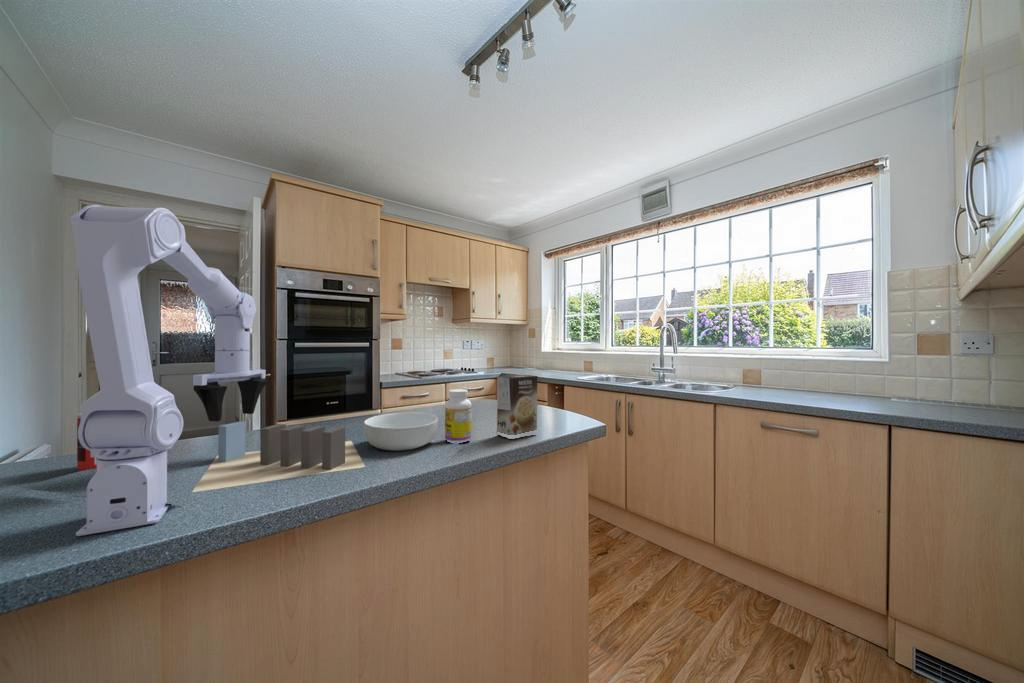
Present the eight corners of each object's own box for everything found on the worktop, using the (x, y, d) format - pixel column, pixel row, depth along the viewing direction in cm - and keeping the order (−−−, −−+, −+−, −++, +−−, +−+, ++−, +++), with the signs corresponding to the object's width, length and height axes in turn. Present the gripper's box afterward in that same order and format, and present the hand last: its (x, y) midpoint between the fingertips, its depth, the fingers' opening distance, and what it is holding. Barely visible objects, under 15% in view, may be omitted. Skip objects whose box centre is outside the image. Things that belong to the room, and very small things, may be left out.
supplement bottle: (443, 438, 99) (443, 389, 99) (468, 437, 101) (468, 388, 101) (446, 445, 92) (447, 392, 92) (473, 443, 94) (474, 391, 94)
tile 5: (345, 462, 76) (345, 427, 76) (330, 470, 72) (330, 432, 72) (337, 462, 76) (337, 426, 76) (322, 469, 72) (322, 432, 72)
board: (365, 472, 73) (365, 466, 73) (191, 498, 61) (191, 492, 61) (351, 444, 93) (351, 440, 93) (216, 460, 80) (216, 455, 80)
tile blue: (245, 455, 80) (245, 421, 80) (226, 461, 76) (226, 426, 76) (238, 454, 81) (238, 421, 81) (218, 461, 76) (218, 426, 76)
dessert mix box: (511, 440, 97) (511, 377, 97) (496, 435, 102) (496, 375, 102) (537, 435, 103) (538, 375, 103) (522, 430, 108) (522, 374, 108)
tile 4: (324, 461, 77) (325, 426, 77) (309, 468, 72) (309, 431, 72) (316, 460, 77) (317, 425, 77) (301, 467, 73) (301, 430, 73)
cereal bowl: (352, 447, 91) (352, 417, 91) (416, 436, 102) (417, 409, 102) (382, 465, 78) (382, 430, 78) (451, 450, 89) (452, 419, 89)
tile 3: (305, 459, 78) (305, 425, 78) (288, 466, 73) (288, 430, 73) (297, 459, 78) (297, 424, 78) (280, 466, 74) (280, 429, 74)
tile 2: (285, 458, 78) (285, 424, 78) (268, 465, 74) (268, 429, 74) (278, 457, 79) (278, 423, 79) (260, 464, 74) (260, 428, 74)
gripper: (246, 349, 86) (246, 409, 86) (179, 351, 72) (179, 423, 72) (273, 349, 85) (273, 411, 85) (211, 351, 71) (210, 425, 71)
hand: (232, 417), depth 78 cm, fingers open, 7 cm apart
